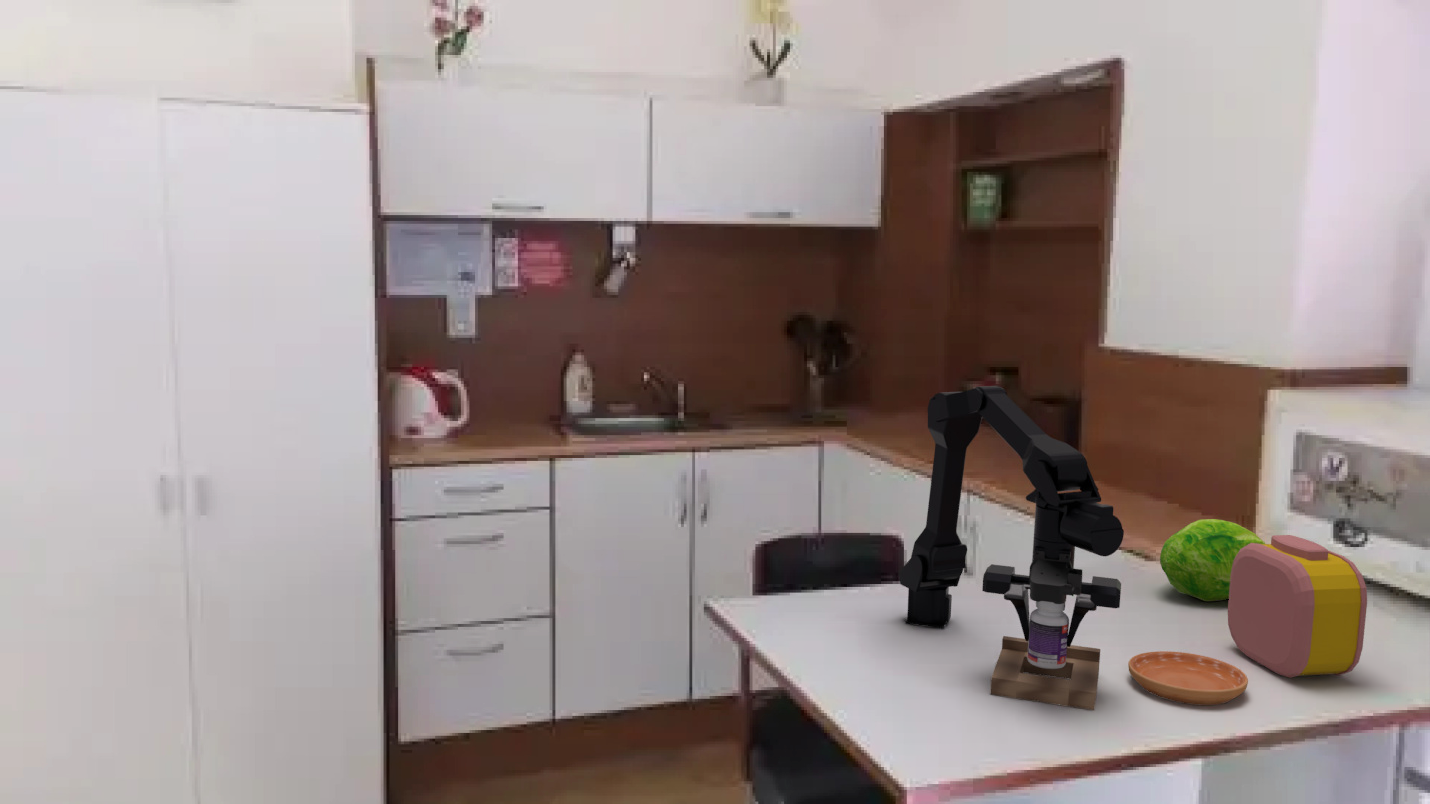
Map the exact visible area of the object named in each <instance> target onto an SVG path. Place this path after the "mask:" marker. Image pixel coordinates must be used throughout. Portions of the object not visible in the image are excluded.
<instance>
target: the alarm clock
mask: <svg viewBox="0 0 1430 804" xmlns="http://www.w3.org/2000/svg"><path fill="white" fill-rule="evenodd" d="M1270 540H1271V541H1270V543H1268V544H1267V543H1265V544H1257V543H1250V544H1248V545H1247V546H1245V547H1243V548H1242V549H1240V551H1239V552H1238V554H1237V555H1236V557H1235V559H1234V561H1233V565H1232V570H1231V577H1230V589H1229V600H1227V602H1228V603H1227V625H1228V629H1229V632H1230V636H1231V638H1232V640H1233V643H1235V646H1236V647H1237V649H1239V650H1240V652H1242V653H1243V654H1244V655H1245V656H1246V657H1248V658H1250V659H1251V660H1253V661H1254V662H1256V663H1258V664H1260V665H1261V666H1263V667H1265V668H1267V669H1269V670H1270V671H1272V672H1273V673H1276V674H1278V675H1280V676H1283V677H1286V678H1290V679H1293V678H1294V677H1297V676H1299V677H1301V676H1314V675H1315V676H1316V675H1319V676H1320V675H1334V676H1341V675H1345V674H1347V673H1351V672H1352V671H1353V670H1354V669H1355V668H1356V666H1357V665H1358V664H1359V662H1360V660H1361V656H1362V651H1363V647H1364V638H1365V628H1366V618H1367V607H1368V591H1367V590H1368V589H1367V585H1366V582H1365V579H1364V575H1362V572H1361V571H1360V570H1359V569H1358V567H1357V566H1356V565H1355V563H1354V562H1353V561H1352V560H1350V559H1348V557H1347V558H1346V557H1345V556H1343V555H1341V554H1339V553H1336V552H1333V551H1331V550H1329V549H1327V548H1326V547H1325V546H1323V545H1321V544H1319V543H1316V542H1314V541H1312V540H1309V539H1307V538H1306V539H1305V538H1302V537H1300V536H1295V535H1292V534H1291V535H1290V534H1280V535H1279V534H1275V535H1271V537H1270Z"/></svg>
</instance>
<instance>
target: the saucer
mask: <svg viewBox="0 0 1430 804" xmlns="http://www.w3.org/2000/svg"><path fill="white" fill-rule="evenodd" d="M1127 664H1128V665H1127V667H1128V671H1129V674H1130V676H1131V677H1132V678H1133V680H1135V681H1136V682H1137V683H1138V684H1139V685H1140V687H1142V689H1144V691H1147V692H1148V693H1150V694H1153V695H1155V696H1157V697H1160V698H1162V699H1165V700H1168V701H1172V702H1177V703H1182V704H1187V705H1188V704H1189V705H1198V706H1215V705H1221V704H1226V703H1228V702H1230V701H1232V700H1233V699H1235V698H1237V697H1239V696H1240V695H1241V694H1243V693H1244V692H1245V691H1246V689H1247V688H1248V684H1249V678H1248V677H1247V675H1246V673H1245V672H1243V671H1242V670H1241V668H1240V669H1239V668H1238V667H1236V666H1234V665H1232V664H1230V663H1227V662H1226V661H1223V660H1220V659H1216V658H1213V657H1209V656H1205V655H1200V654H1196V653H1190V652H1182V651H1168V650H1167V651H1164V650H1163V651H1161V650H1159V651H1149V652H1142V653H1138V654H1136V655H1134V656H1132V657H1131V658H1130V659H1129V661H1128V663H1127Z"/></svg>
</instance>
